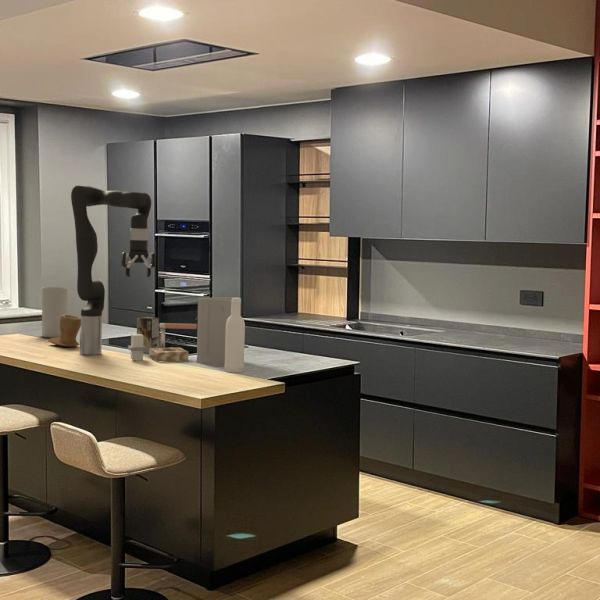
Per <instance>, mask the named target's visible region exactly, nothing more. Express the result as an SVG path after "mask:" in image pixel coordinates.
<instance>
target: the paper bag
mask: <svg viewBox="0 0 600 600" xmlns="http://www.w3.org/2000/svg"><path fill="white" fill-rule="evenodd" d="M232 298H240V299H241V300H240V301H241V303H240V316H241V317H242V315H241V314H242V298H241V297H239V296H238V297H236V296H228V297H225V296H224V297H223V296H222V297H221V296H219V297H198V298H197V331H196V332H197V334H196V335H197V336H196V340H197V341H196V363H197V364H200V365H209V366H222V367H225V340H226V322H227V319H228V318H229V317H230V316H231V305H232V303H231V301H232Z"/></svg>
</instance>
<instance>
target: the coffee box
mask: <svg viewBox="0 0 600 600" xmlns="http://www.w3.org/2000/svg"><path fill="white" fill-rule="evenodd" d="M160 318H161V317H151V316H141V317H137V318H136V334H142V335H143V346H145V347H146V351H143V354H149V348H160V337H161V328H160V323H161V319H160Z"/></svg>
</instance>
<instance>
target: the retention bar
mask: <svg viewBox="0 0 600 600" xmlns="http://www.w3.org/2000/svg"><path fill="white" fill-rule="evenodd" d="M197 326H198V323H169V322H168V323H167V322H160V329H161V328H165V329H181V330H182V329H183V330H184V329H185V330H187V329H190V330H197Z"/></svg>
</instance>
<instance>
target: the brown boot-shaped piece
mask: <svg viewBox="0 0 600 600" xmlns="http://www.w3.org/2000/svg"><path fill="white" fill-rule="evenodd" d="M80 330H81V316H75V315H71V314H70V315H69V314H67V315H62V316H61V319H60V333H61V335H60V337H59V338H58V337H57V338H49V339H48V341H47V342H48V343H50V344H53V345H55V346H60V347H66V348H67V347H70V348H71V347H77V346H80V342H78V341H77V336H78V334H79V333H80Z"/></svg>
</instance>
